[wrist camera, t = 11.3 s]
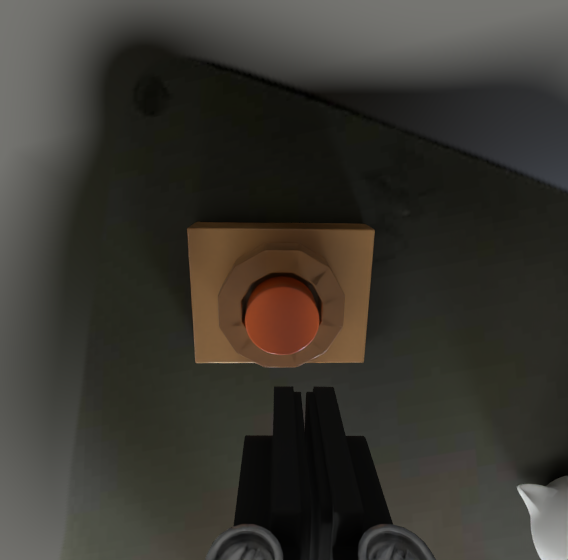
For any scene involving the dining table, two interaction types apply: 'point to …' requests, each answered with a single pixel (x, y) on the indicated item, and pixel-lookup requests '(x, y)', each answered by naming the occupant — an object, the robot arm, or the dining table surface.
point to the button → (281, 316)
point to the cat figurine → (548, 517)
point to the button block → (274, 263)
